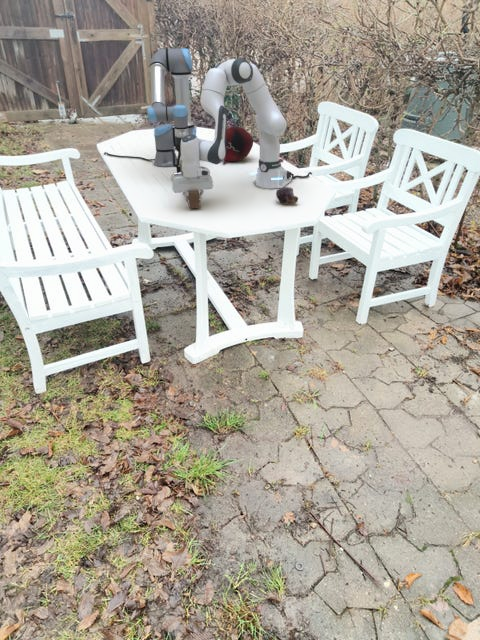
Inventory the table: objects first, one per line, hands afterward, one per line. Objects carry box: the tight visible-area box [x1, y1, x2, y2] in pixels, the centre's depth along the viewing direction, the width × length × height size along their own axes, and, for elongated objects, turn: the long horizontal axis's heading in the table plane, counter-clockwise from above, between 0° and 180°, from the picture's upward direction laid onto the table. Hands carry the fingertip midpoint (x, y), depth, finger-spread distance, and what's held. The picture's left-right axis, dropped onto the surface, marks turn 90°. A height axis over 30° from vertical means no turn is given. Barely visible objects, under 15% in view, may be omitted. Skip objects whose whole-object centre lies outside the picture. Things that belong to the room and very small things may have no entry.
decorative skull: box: [222, 126, 254, 165], centre depth 296 cm, size 21×24×25 cm
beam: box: [179, 163, 201, 209], centre depth 242 cm, size 52×5×8 cm, turn 12°
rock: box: [275, 186, 299, 205], centre depth 230 cm, size 12×9×10 cm
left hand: (185, 178), depth 261 cm, fingers closed on beam, 5 cm apart
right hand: (193, 199), depth 226 cm, fingers closed on beam, 5 cm apart
